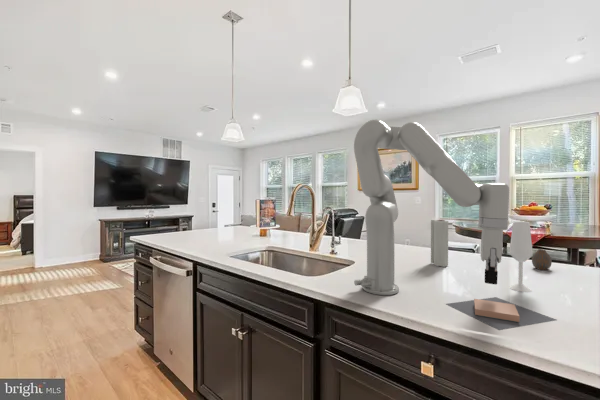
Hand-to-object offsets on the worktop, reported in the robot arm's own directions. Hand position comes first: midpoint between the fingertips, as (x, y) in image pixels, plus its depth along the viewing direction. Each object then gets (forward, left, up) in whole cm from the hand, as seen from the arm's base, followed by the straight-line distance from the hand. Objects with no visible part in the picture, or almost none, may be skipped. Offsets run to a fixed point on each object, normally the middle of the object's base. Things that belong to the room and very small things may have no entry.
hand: (490, 283), depth 91 cm
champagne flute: (+23, +9, -7) cm, 26 cm away
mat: (-4, -5, -7) cm, 9 cm away
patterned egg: (+59, +27, -7) cm, 66 cm away
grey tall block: (+21, +46, -7) cm, 51 cm away
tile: (-2, -3, -5) cm, 6 cm away
